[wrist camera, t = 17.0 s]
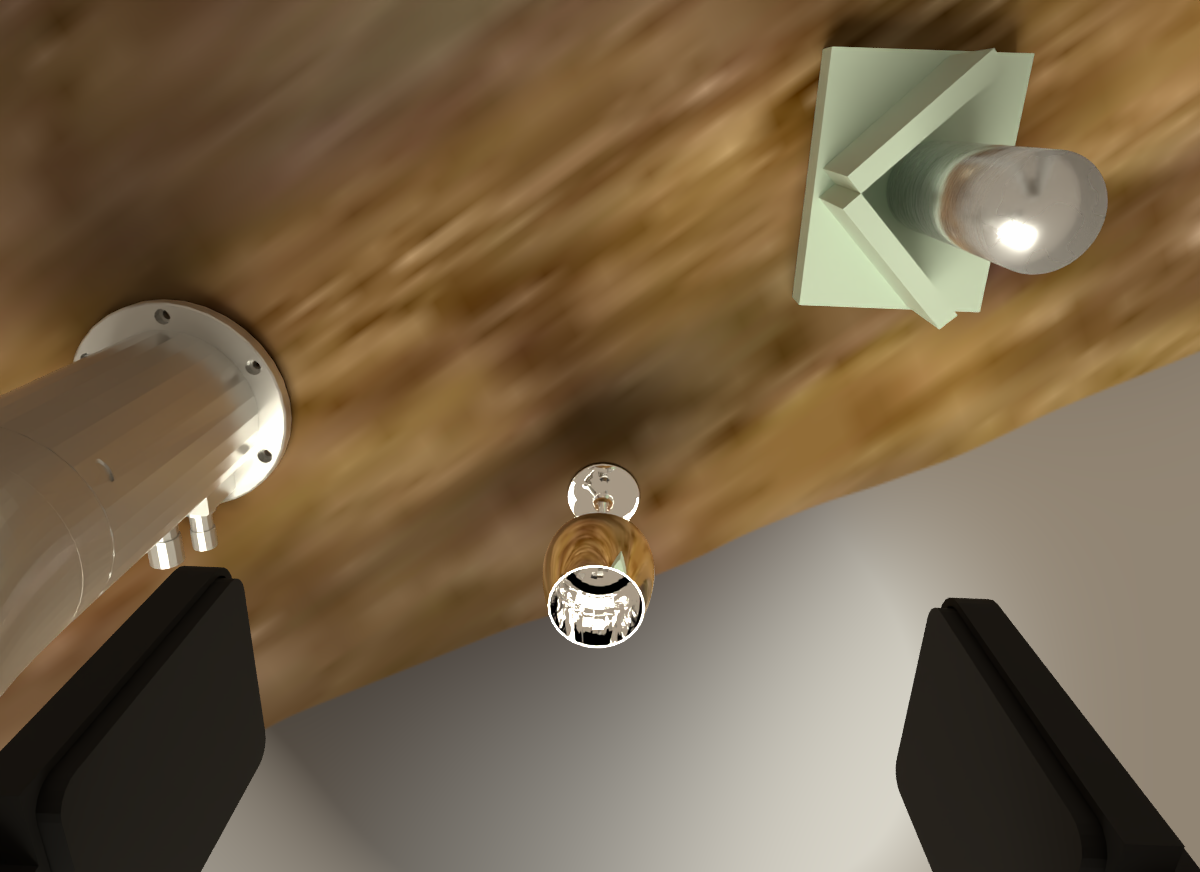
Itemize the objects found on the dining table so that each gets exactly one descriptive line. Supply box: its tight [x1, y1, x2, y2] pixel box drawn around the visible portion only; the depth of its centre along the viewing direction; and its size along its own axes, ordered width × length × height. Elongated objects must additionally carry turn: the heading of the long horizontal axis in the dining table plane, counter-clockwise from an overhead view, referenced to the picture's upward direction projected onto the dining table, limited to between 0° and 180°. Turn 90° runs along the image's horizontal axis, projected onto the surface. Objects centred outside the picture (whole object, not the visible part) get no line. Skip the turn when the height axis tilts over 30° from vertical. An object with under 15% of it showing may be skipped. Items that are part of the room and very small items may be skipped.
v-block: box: [792, 46, 1034, 329], centre depth 39 cm, size 10×12×7 cm
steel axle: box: [886, 140, 1108, 274], centre depth 35 cm, size 4×4×12 cm
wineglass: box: [542, 463, 655, 648], centre depth 45 cm, size 6×6×12 cm
